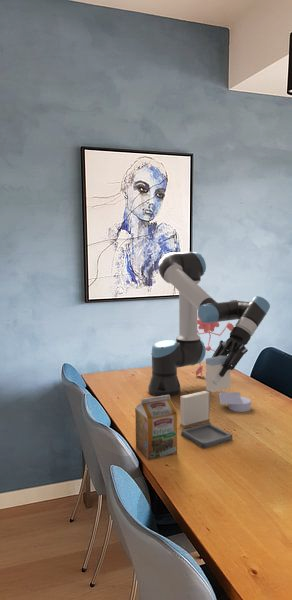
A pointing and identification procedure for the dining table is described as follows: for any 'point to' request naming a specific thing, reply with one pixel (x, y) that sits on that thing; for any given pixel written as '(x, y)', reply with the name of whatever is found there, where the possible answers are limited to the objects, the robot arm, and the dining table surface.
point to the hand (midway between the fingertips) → (210, 381)
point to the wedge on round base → (235, 401)
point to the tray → (206, 435)
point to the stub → (211, 370)
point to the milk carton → (156, 427)
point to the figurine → (209, 328)
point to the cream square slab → (194, 409)
